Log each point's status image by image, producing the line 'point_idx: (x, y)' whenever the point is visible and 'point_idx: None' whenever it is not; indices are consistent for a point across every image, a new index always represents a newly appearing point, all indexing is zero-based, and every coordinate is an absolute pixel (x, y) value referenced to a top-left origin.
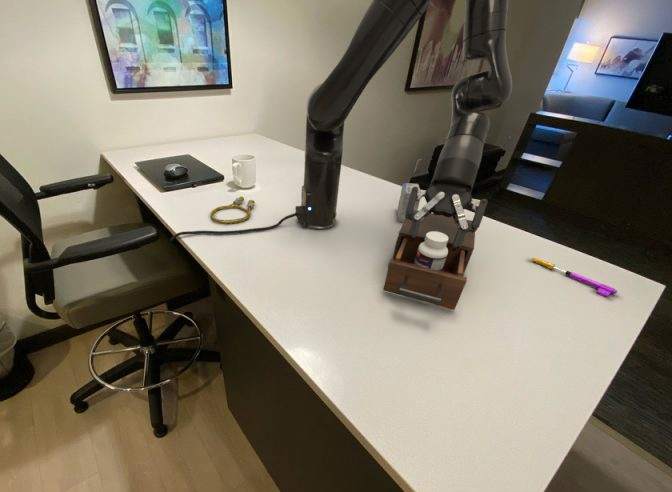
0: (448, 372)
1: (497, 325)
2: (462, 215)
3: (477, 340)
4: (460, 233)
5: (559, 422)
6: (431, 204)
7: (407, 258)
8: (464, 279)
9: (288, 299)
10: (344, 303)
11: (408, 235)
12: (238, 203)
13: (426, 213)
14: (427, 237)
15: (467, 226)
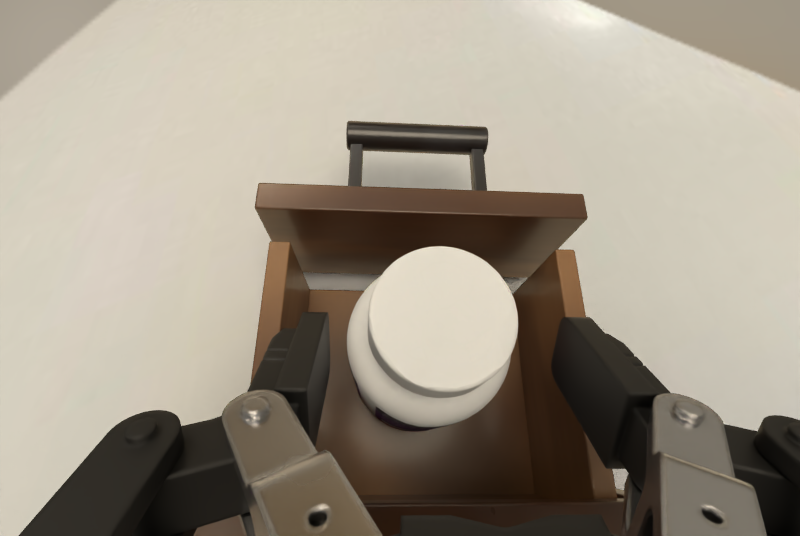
0: (307, 65)
1: (155, 261)
2: (280, 473)
3: (229, 176)
4: (288, 367)
5: (107, 31)
6: (703, 523)
7: (517, 495)
8: (266, 187)
9: (733, 139)
10: (600, 179)
11: (609, 501)
12: None
13: (646, 477)
14: (499, 275)
15: (228, 414)
